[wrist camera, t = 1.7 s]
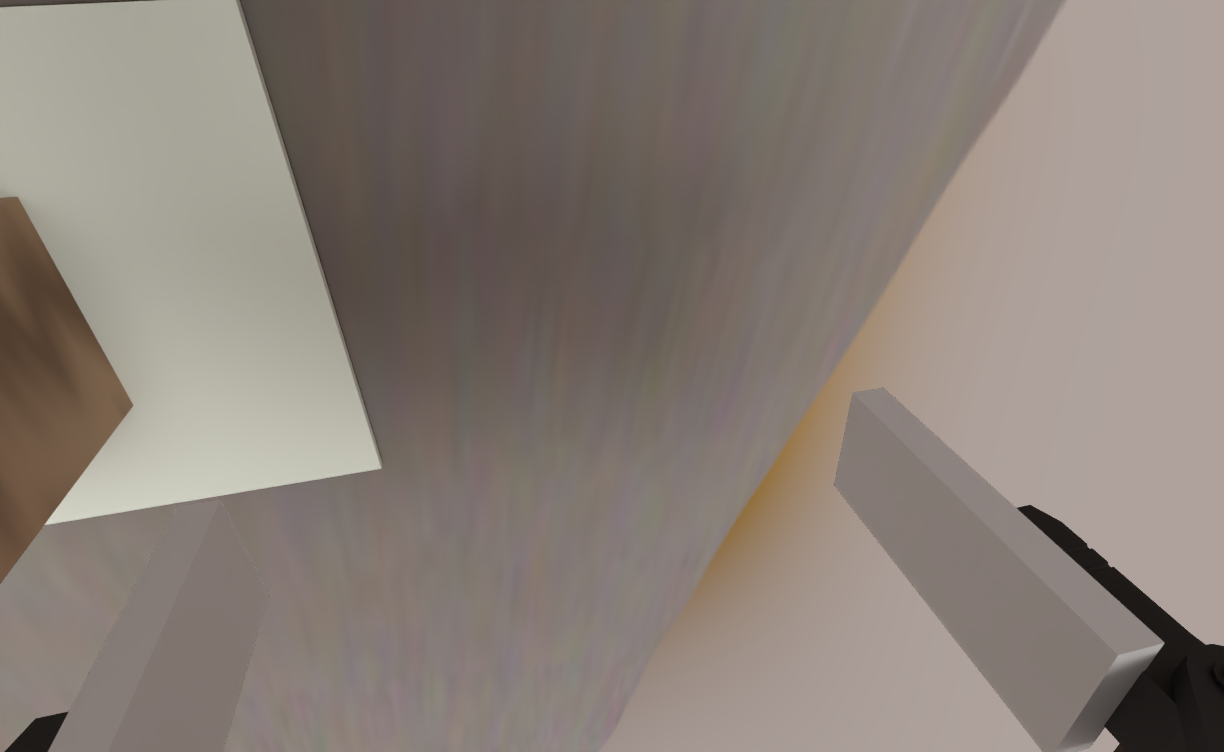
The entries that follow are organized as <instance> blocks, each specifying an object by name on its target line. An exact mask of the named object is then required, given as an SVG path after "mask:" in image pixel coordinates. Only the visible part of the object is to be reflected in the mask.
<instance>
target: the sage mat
mask: <svg viewBox="0 0 1224 752" xmlns="http://www.w3.org/2000/svg"><path fill="white" fill-rule="evenodd" d="M7 197H18V198H19V200H20V202H21V204H22V205H23V207H24V209H25V211H26V213H27V214H28V216H29V218H30V220H31V222H32V223H33V225H34V227H35V229H36V231H37V232H38V234H39V236H40V238H41V240H42V241H43V243H44V245H45V247H46V249H47V250H48V252H49V254H50V256H51V258H52V260H53V261H54V263H55V265H56V267H57V269H58V270H59V272H60V274H61V276H62V278H63V279H64V281H65V283H66V285H67V287H68V288H69V290H70V292H71V294H72V296H73V297H74V299H75V301H76V303H77V305H78V306H79V308H80V310H81V312H82V314H83V315H84V317H85V319H86V321H87V323H88V324H89V326H90V328H91V330H92V332H93V333H94V335H95V337H96V339H97V341H98V342H99V344H100V346H101V348H102V350H103V351H104V353H105V355H106V357H107V359H108V360H109V362H110V364H111V366H112V368H113V369H114V371H115V373H116V375H117V377H118V378H119V380H120V382H121V384H122V386H123V387H124V389H125V391H126V393H127V395H128V396H129V398H130V400H131V402H132V404H133V407H132V408H131V409H130V411H129V412H128V413H127V415H126V416H125V417H124V419H123V420H122V421H121V423H120V424H119V425H118V427H117V428H116V429H115V431H114V432H113V433H112V435H111V436H110V438H109V439H108V440H107V442H106V443H105V444H104V446H103V447H102V448H101V450H100V451H99V452H98V454H97V455H96V456H95V458H94V459H93V460H92V462H91V463H90V464H89V466H88V467H87V468H86V470H85V471H84V472H83V474H82V475H81V476H80V478H79V479H78V480H77V482H76V483H75V484H74V486H73V487H72V488H71V490H70V491H69V492H68V494H67V495H66V496H65V498H64V499H63V500H62V502H61V503H60V505H59V506H58V507H57V509H56V510H55V511H54V513H53V514H52V515H51V517H50V518H49V519H48V521H47V522H46V523H45V525H48V524H54V523H60V522H66V521H72V520H77V519H83V518H89V517H95V516H101V515H107V514H113V513H119V512H125V511H131V510H137V509H143V508H149V507H155V506H161V505H167V504H173V503H179V502H185V501H191V500H197V499H203V498H209V497H215V496H221V495H227V494H233V493H239V492H245V491H251V490H257V489H263V488H269V487H275V486H281V485H287V484H292V483H298V482H304V481H310V480H316V479H322V478H328V477H334V476H340V475H346V474H352V473H358V472H364V471H370V470H376V469H382V460H381V457H380V454H379V451H378V447H377V444H376V441H375V438H374V434H373V431H372V428H371V425H370V421H369V418H368V415H367V412H366V408H365V405H364V402H363V399H362V396H361V392H360V389H359V386H358V383H357V379H356V376H355V373H354V370H353V366H352V363H351V360H350V357H349V353H348V350H347V347H346V344H345V340H344V337H343V334H342V331H341V327H340V324H339V321H338V318H337V315H336V311H335V308H334V305H333V302H332V298H331V295H330V292H329V289H328V285H327V282H326V279H325V276H324V272H323V269H322V266H321V263H320V259H319V256H318V253H317V250H316V246H315V243H314V240H313V237H312V234H311V230H310V227H309V224H308V221H307V217H306V214H305V211H304V208H303V204H302V201H301V198H300V195H299V191H298V188H297V185H296V182H295V178H294V175H293V172H292V169H291V165H290V162H289V159H288V156H287V152H286V149H285V146H284V143H283V140H282V136H281V133H280V130H279V127H278V123H277V120H276V117H275V114H274V110H273V107H272V104H271V101H270V97H269V94H268V91H267V88H266V84H265V81H264V78H263V75H262V71H261V68H260V65H259V62H258V59H257V55H256V52H255V49H254V46H253V42H252V39H251V36H250V33H249V29H248V26H247V23H246V20H245V16H244V13H243V10H242V7H241V3H240V0H156V1H133V2H111V3H88V4H65V5H42V6H19V7H0V198H7Z"/></svg>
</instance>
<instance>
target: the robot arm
mask: <svg viewBox="0 0 1224 752" xmlns="http://www.w3.org/2000/svg"><path fill="white" fill-rule="evenodd" d="M834 486H835V487H836V488H837V490H838V491H839V492H840V493H841V495H842V496H843V497H844V499H845V500H846V501H847V502H848V503H849V505H850V506H851V508H852V509H853V510H854V511H855V513H856V514H857V515H858V516H859V518H860V519H861V520H862V522H863V523H864V524H865V525H866V527H867V528H868V529H869V530H870V532H871V533H872V534H873V535H874V537H875V538H876V539H877V541H878V542H879V543H880V545H881V546H882V547H883V548H884V550H885V551H886V552H887V553H888V555H889V556H890V557H891V559H892V560H893V561H894V562H895V564H896V565H897V566H898V567H899V569H900V570H901V571H902V573H903V574H904V575H905V576H906V578H907V579H908V580H909V582H910V583H911V584H912V585H913V587H914V588H915V589H916V591H917V592H918V593H919V594H920V595H921V597H922V598H923V599H924V601H925V602H926V603H927V605H928V606H929V607H930V608H931V610H932V611H933V612H934V613H935V615H936V616H937V617H938V619H939V620H940V621H941V622H942V624H943V625H944V626H945V628H946V629H947V630H948V631H949V633H950V634H951V635H952V636H953V638H954V639H955V640H956V642H957V643H958V644H959V645H960V647H961V648H962V649H963V650H964V652H965V653H966V654H967V655H968V657H969V658H970V659H971V661H972V662H973V663H974V665H975V666H976V667H977V668H978V670H979V671H980V672H981V673H982V675H983V676H984V677H985V678H986V680H987V681H988V682H989V684H990V685H991V686H992V688H994V690H995V691H996V693H997V694H998V695H999V696H1000V698H1001V699H1002V700H1003V702H1004V703H1005V704H1006V705H1007V707H1008V708H1009V709H1010V710H1011V712H1012V713H1013V714H1014V716H1015V717H1016V718H1017V719H1018V721H1019V722H1020V723H1021V724H1022V726H1023V727H1024V728H1025V730H1026V731H1027V732H1028V733H1029V735H1030V736H1031V737H1032V739H1033V740H1034V741H1035V742H1036V744H1037V745H1038V746H1039V747H1040V748H1041V750H1042V751H1043V752H1078V751H1081V750H1085V749H1088V748H1090V747H1091V746H1092V745H1093V743H1094V742H1095V740H1096V739H1097V737H1098V736H1099V735H1100V733H1101V732H1102V730H1103V729H1104V728H1105V727H1106V728H1107V729H1108V731H1109V732H1110V733H1111V734H1112V735H1113V736H1114V737H1115V738H1116V739H1117V741H1118V742H1119V743H1120V744H1119V745H1118V747H1117V748H1116V749H1115V751H1114V752H1224V646H1220V645H1215V644H1209V645H1205V644H1204V643H1202V642H1201V641H1200V640H1199V639H1197V638H1196V637H1195V636H1193V635H1192V634H1191V633H1189V632H1188V631H1187V630H1186V629H1185V628H1184V627H1182V626H1181V625H1180V624H1179V623H1178V622H1177V621H1176V620H1174V619H1173V618H1172V617H1171V616H1170V615H1169V614H1168V613H1166V612H1165V611H1164V610H1163V609H1162V608H1161V607H1159V606H1158V605H1157V604H1156V603H1155V602H1154V601H1152V600H1151V599H1150V598H1149V597H1148V596H1147V595H1146V594H1144V593H1143V592H1142V591H1141V590H1140V589H1139V588H1137V587H1136V586H1135V585H1134V584H1133V583H1132V582H1130V581H1129V580H1128V579H1127V578H1126V577H1125V576H1124V575H1122V574H1121V573H1120V572H1119V571H1118V570H1117V569H1115V568H1114V567H1110V566H1109V565H1108V562H1107V561H1106V560H1105V559H1104V558H1103V557H1101V556H1100V555H1099V554H1098V553H1097V552H1096V551H1095V550H1093V549H1089V548H1088V547H1087V544H1086V543H1085V542H1084V541H1083V540H1082V539H1081V538H1080V537H1078V536H1077V535H1076V534H1075V533H1073V532H1072V531H1071V530H1070V529H1069V528H1068V527H1067V526H1065V525H1064V524H1063V523H1062V522H1061V521H1059V520H1057V519H1055V518H1053V517H1051V516H1050V515H1048V514H1046V513H1044V512H1042V511H1040V510H1039V509H1037V508H1035V507H1033V506H1031V505H1028V506H1023V507H1019V508H1016V507H1015V506H1013V505H1012V504H1011V503H1010V502H1009V501H1008V500H1007V499H1006V498H1005V497H1003V496H1002V495H1001V494H1000V493H999V492H998V491H997V490H996V489H995V488H994V487H993V486H991V485H990V484H989V483H988V482H987V481H986V480H985V479H984V478H982V477H981V476H980V475H979V474H978V473H977V472H976V471H975V470H974V469H973V468H972V467H970V466H969V465H968V464H967V463H966V462H965V461H964V460H963V459H961V457H959V456H958V455H957V454H956V453H955V452H954V451H953V450H952V449H951V448H949V447H948V446H947V445H946V444H945V443H944V442H943V441H942V440H941V439H940V438H939V437H937V436H936V435H935V434H934V433H933V432H932V431H931V430H930V429H929V428H927V427H926V426H925V425H924V424H923V423H922V422H921V421H920V420H919V419H918V418H916V417H915V416H914V415H913V414H912V413H911V412H910V411H909V410H907V409H906V408H905V407H904V406H903V405H902V404H901V403H900V402H899V401H898V400H897V399H896V398H894V397H893V396H892V395H891V394H890V393H889V392H888V391H887V390H886V389H884V388H878V389H872V390H866V391H860V392H854V393H853V394H852V398H851V403H850V408H849V414H848V418H847V423H846V428H845V433H844V438H843V443H842V448H841V452H840V457H839V462H838V467H837V472H836V477H835V482H834ZM268 598H269V593H268V592H267V590H266V588H265V586H264V584H263V582H262V580H261V578H260V576H259V574H258V572H257V570H256V568H255V566H254V564H253V562H252V560H251V558H250V556H249V554H248V552H247V550H246V548H245V546H244V544H243V542H242V540H241V538H240V536H239V534H238V532H237V530H236V528H235V526H234V524H233V523H232V521H231V519H230V517H229V515H228V513H227V511H226V509H225V507H224V505H223V503H222V501H221V499H220V500H214V501H208V502H202V503H196V504H190V505H184V506H178V507H176V509H175V511H174V513H173V514H172V516H171V518H170V520H169V522H168V524H167V526H166V528H165V530H164V532H163V533H162V535H161V537H160V539H159V541H158V543H157V545H156V547H155V549H154V551H153V552H152V554H151V556H150V558H149V560H148V562H147V564H146V566H145V568H144V570H143V572H142V573H141V575H140V577H139V579H138V581H137V583H136V585H135V587H134V589H133V591H132V592H131V594H130V596H129V598H128V600H127V602H126V604H125V606H124V608H123V610H122V611H121V613H120V615H119V617H118V619H117V621H116V623H115V625H114V627H113V629H112V631H111V632H110V634H109V636H108V638H107V640H106V642H105V644H104V646H103V648H102V650H101V651H100V653H99V655H98V657H97V659H96V661H95V663H94V665H93V667H92V669H91V670H90V672H89V674H88V676H87V678H86V680H85V682H84V684H83V686H82V688H81V690H80V691H79V693H78V695H77V697H76V699H75V701H74V703H73V705H72V707H71V709H70V710H69V712H65V713H60V714H55V715H51V716H46V717H41V718H36V719H35V720H34V721H33V722H32V723H31V724H30V725H29V726H28V727H27V728H26V729H25V731H24V732H23V733H22V734H21V735H20V736H19V737H18V738H17V739H16V740H15V741H14V742H13V743H12V744H11V745H10V746H9V748H8V749H7V750H6V751H5V752H223V750H224V747H225V744H226V740H227V737H228V733H229V730H230V727H231V723H232V720H233V717H234V713H235V710H236V706H237V703H238V700H239V696H240V693H241V689H242V686H243V683H244V679H245V676H246V672H247V669H248V666H249V662H250V659H251V655H252V652H253V649H254V645H255V642H256V639H257V635H258V632H259V628H260V625H261V622H262V618H263V615H264V611H265V608H266V605H267V601H268Z"/></svg>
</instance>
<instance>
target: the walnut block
mask: <svg viewBox="0 0 1224 752" xmlns="http://www.w3.org/2000/svg"><path fill="white" fill-rule="evenodd" d="M132 407H133V404H132V402H131V400H130V398H129V396H128V395H127V393H126V391H125V389H124V387H123V386H122V384H121V382H120V380H119V378H118V377H117V375H116V373H115V371H114V369H113V368H112V366H111V364H110V362H109V360H108V359H107V357H106V355H105V353H104V351H103V350H102V348H101V346H100V344H99V342H98V341H97V339H96V337H95V335H94V333H93V332H92V330H91V328H90V326H89V324H88V323H87V321H86V319H85V317H84V315H83V314H82V312H81V310H80V308H79V306H78V305H77V303H76V301H75V299H74V297H73V296H72V294H71V292H70V290H69V288H68V287H67V285H66V283H65V281H64V279H63V278H62V276H61V274H60V272H59V270H58V269H57V267H56V265H55V263H54V261H53V260H52V258H51V256H50V254H49V252H48V250H47V249H46V247H45V245H44V243H43V241H42V240H41V238H40V236H39V234H38V232H37V231H36V229H35V227H34V225H33V223H32V222H31V220H30V218H29V216H28V214H27V213H26V211H25V209H24V207H23V205H22V204H21V202H20V200H19V198H18V197H7V198H0V584H1V582H2V581H3V580H4V578H5V577H6V576H7V574H8V573H9V572H10V570H11V569H12V568H13V566H14V565H15V563H16V562H17V561H18V559H19V558H20V557H21V555H22V554H23V553H24V551H25V550H26V549H27V547H28V546H29V545H30V543H31V542H32V541H33V539H34V538H35V537H36V535H37V534H38V533H39V531H40V530H41V529H42V527H43V526H44V525H45V523H46V522H47V521H48V519H49V518H50V517H51V515H52V514H53V513H54V511H55V510H56V509H57V507H58V506H59V505H60V503H61V502H62V500H63V499H64V498H65V496H66V495H67V494H68V492H69V491H70V490H71V488H72V487H73V486H74V484H75V483H76V482H77V480H78V479H79V478H80V476H81V475H82V474H83V472H84V471H85V470H86V468H87V467H88V466H89V464H90V463H91V462H92V460H93V459H94V458H95V456H96V455H97V454H98V452H99V451H100V450H101V448H102V447H103V446H104V444H105V443H106V442H107V440H108V439H109V438H110V436H111V435H112V433H113V432H114V431H115V429H116V428H117V427H118V425H119V424H120V423H121V421H122V420H123V419H124V417H125V416H126V415H127V413H128V412H129V411H130V409H131V408H132Z"/></svg>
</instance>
